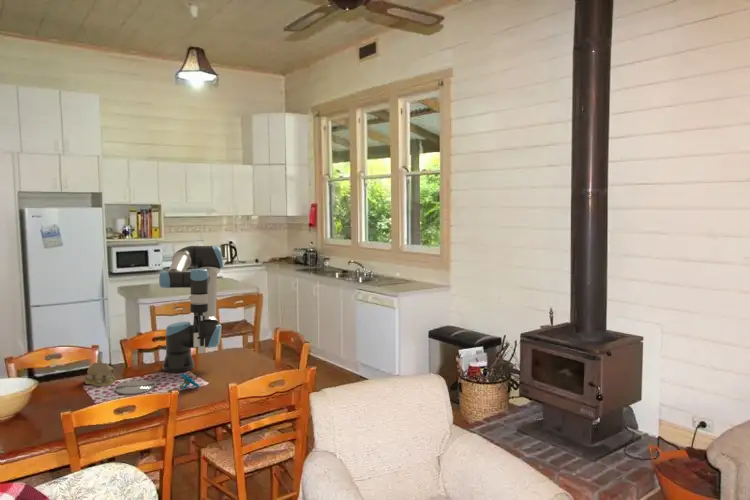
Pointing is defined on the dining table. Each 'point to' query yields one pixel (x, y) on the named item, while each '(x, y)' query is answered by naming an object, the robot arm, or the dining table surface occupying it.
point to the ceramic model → (100, 374)
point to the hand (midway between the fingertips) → (199, 349)
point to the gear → (188, 381)
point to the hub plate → (134, 387)
